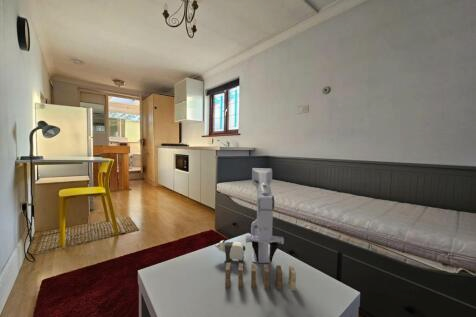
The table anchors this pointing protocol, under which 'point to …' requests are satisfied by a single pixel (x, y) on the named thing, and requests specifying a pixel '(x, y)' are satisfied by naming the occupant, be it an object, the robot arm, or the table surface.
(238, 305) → the table surface
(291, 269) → the maple tile
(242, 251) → the giant panda
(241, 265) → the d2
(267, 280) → the d4
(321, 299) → the table surface
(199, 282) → the table surface
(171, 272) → the table surface
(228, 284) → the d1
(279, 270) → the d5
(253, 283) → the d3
